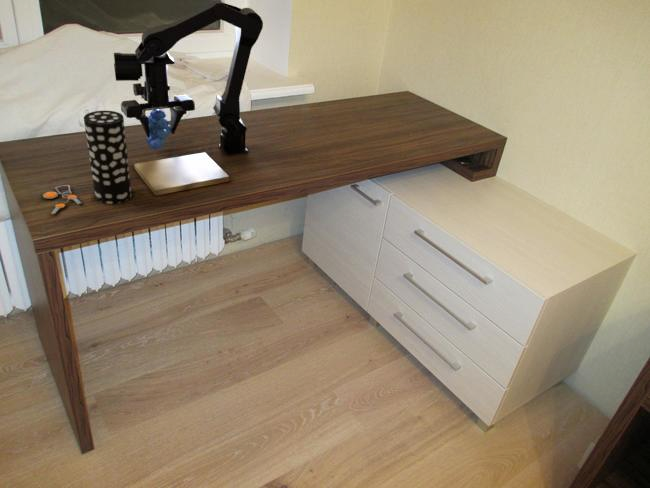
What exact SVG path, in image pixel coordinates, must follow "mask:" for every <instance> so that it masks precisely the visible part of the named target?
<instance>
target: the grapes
mask: <svg viewBox="0 0 650 488" xmlns="http://www.w3.org/2000/svg"><path fill="white" fill-rule="evenodd" d="M147 117H148V121H149V130H150V138H148V137H147V136H146V137H145V141H146V143H147V144H148V145H149V147H150V148H151V149H152V150H153V151H156V150H158V149H161V148H163V147H164V146H165V145H166V141H165V140H166V139H167V138H168V137H169V134H170V133H171V126H170V123H169V121H168V120H167V118H166V117H167V114H166V112H165V111H163V109H156V110H151V111H150V113H149V115H147Z"/></svg>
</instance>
